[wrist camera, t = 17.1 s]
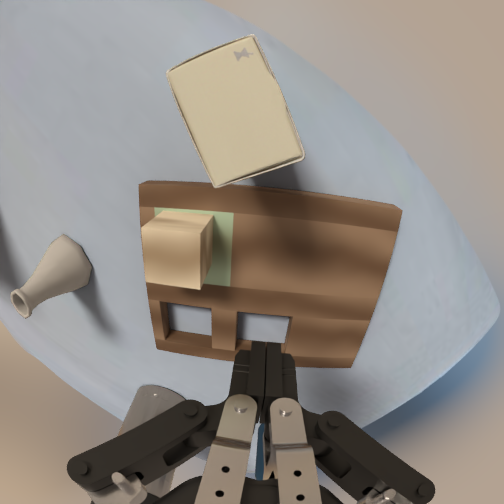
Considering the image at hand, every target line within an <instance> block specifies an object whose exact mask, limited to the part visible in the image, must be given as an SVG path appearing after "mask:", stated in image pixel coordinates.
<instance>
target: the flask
mask: <svg viewBox="0 0 504 504" xmlns="http://www.w3.org/2000/svg"><path fill="white" fill-rule="evenodd" d="M91 269H92V266H91V264H90V263H89V261H88V259H87V257H86V256H85V254H84V252H83V250H82V248H81V246H80V245H78V244H77V243H76V242H74V241H73V240H71V239H70V238H68V237H67V236H66V235H64V234H63V235H61V236H60V237H58V238H57V239H56V240H54V241H53V242H52V243H51V244H50V246H49V247H48V249H47V251H46V252H45V254H44V256H43V258H42V259H41V261H40V263H39V264H38V266H37V268H36V269H35V271H34V273H33V274H32V276H31V277H30V278H29V280H28V281H27V282H26V283H25V285H24V286H23V287H22V288H20V289H16V290H14V291H13V292H12V293H11V302H12V304H13V305H14V307H15V309H16V310H17V312H18V313H19V314H20V315H21V316H23V317H24V318H25V319H26V318H28V317H30V316H31V314H32V310H33V309H34V308H35V307H36V306H37V305H38V304H40V303H41V302H43V301H45V300H46V299H49V298H52V297H55V296H58V295H61V294H64V293H68V292H71V291H74V290H77V289H79V288H81V287H83V286H85V285H88V282H89V278H90V273H91Z"/></svg>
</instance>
